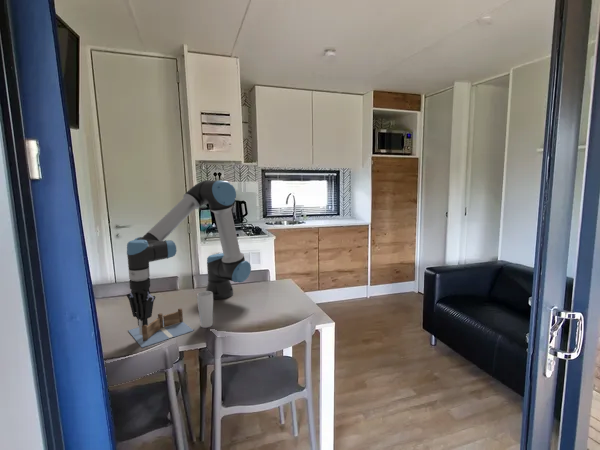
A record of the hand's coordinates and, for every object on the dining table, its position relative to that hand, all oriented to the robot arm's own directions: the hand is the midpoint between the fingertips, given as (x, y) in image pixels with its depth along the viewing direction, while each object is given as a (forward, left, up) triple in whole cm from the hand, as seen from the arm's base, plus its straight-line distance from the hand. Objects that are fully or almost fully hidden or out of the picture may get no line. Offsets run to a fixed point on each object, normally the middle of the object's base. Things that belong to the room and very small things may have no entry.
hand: (143, 333), depth 137 cm
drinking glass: (+7, +24, -2) cm, 26 cm away
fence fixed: (-4, +13, -2) cm, 14 cm away
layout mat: (-1, +7, -2) cm, 8 cm away
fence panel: (0, +4, -1) cm, 4 cm away
